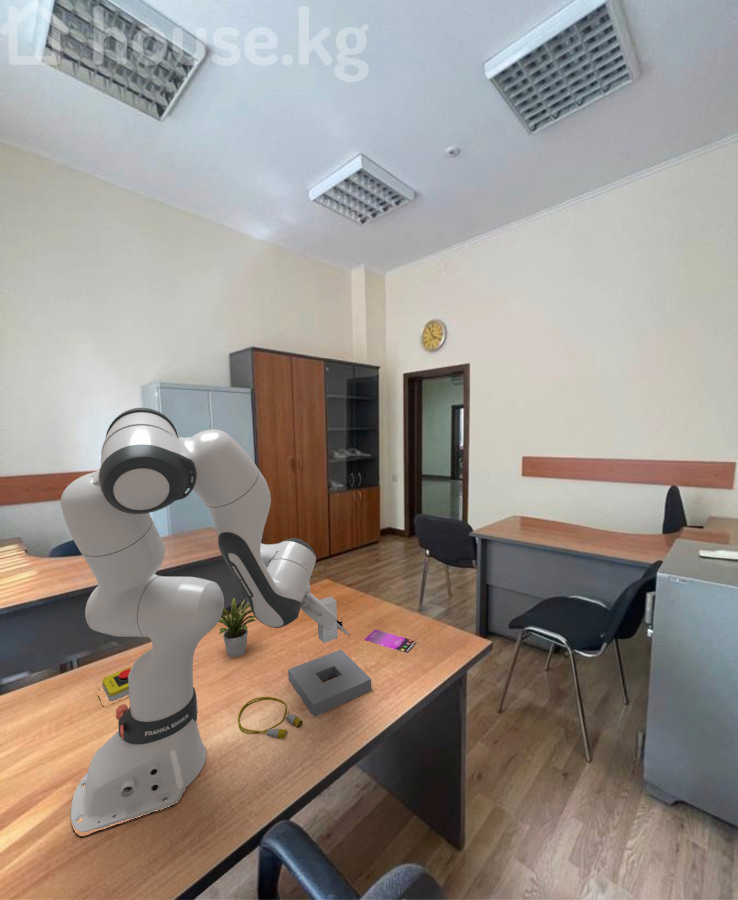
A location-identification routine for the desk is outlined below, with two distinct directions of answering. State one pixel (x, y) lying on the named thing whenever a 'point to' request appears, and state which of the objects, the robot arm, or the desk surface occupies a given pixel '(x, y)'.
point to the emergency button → (116, 684)
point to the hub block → (328, 682)
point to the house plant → (235, 629)
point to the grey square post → (332, 633)
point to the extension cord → (275, 732)
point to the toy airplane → (341, 627)
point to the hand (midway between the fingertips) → (329, 617)
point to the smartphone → (390, 641)
